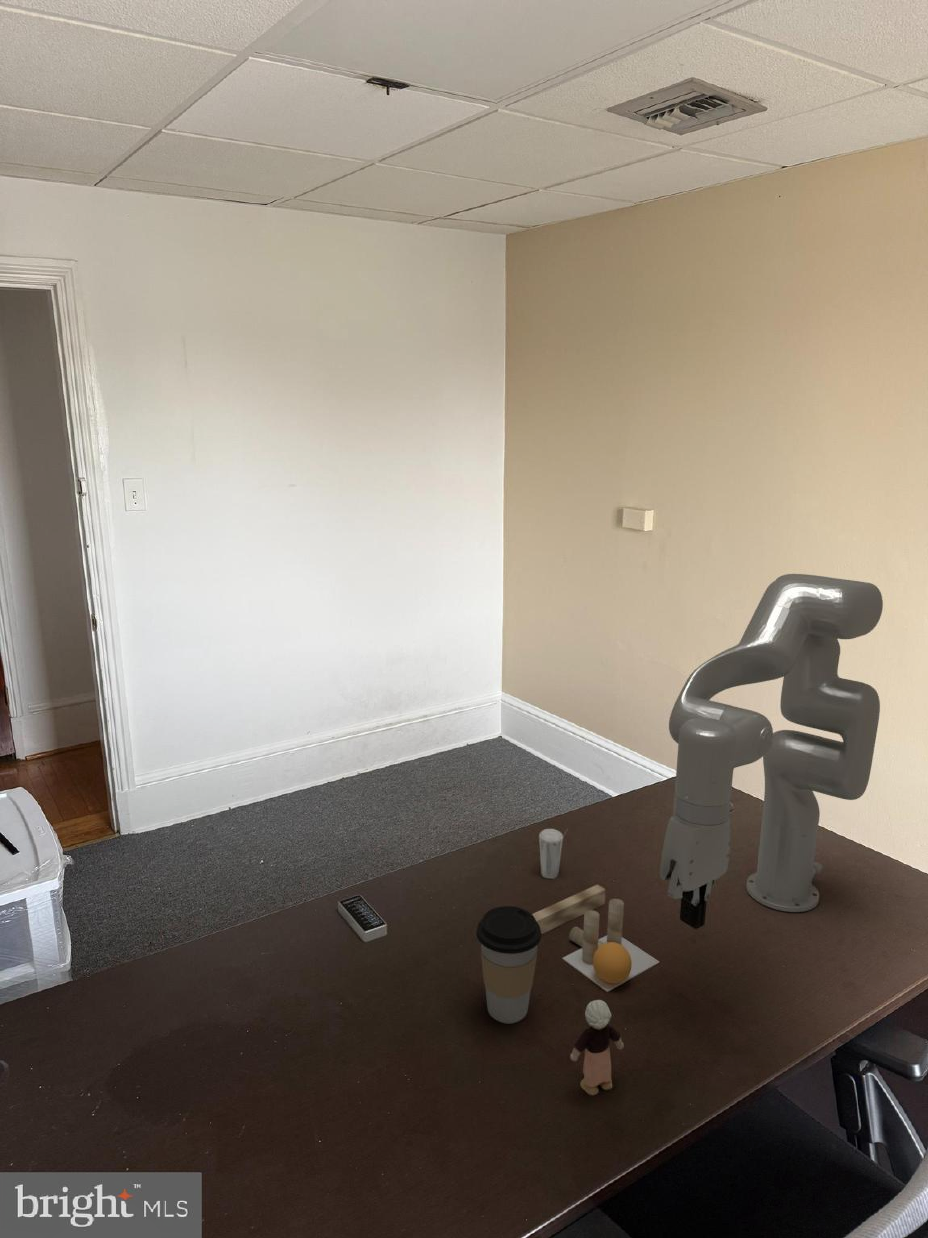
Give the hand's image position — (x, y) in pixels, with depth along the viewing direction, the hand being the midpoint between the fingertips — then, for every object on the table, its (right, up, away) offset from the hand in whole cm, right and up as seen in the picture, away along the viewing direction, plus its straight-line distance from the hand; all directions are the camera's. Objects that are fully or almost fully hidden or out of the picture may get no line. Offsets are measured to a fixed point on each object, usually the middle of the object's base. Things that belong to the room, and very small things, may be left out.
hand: (691, 923), depth 124 cm
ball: (-10, -10, +10) cm, 17 cm away
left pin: (-13, -12, +15) cm, 23 cm away
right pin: (-8, -11, +18) cm, 23 cm away
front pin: (-9, -11, +14) cm, 20 cm away
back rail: (-17, -9, +25) cm, 32 cm away
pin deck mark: (-9, -12, +15) cm, 21 cm away
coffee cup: (-26, -15, +4) cm, 31 cm away
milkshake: (-16, -5, +41) cm, 44 cm away
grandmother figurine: (-16, -18, -10) cm, 26 cm away
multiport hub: (-51, -9, +25) cm, 57 cm away
